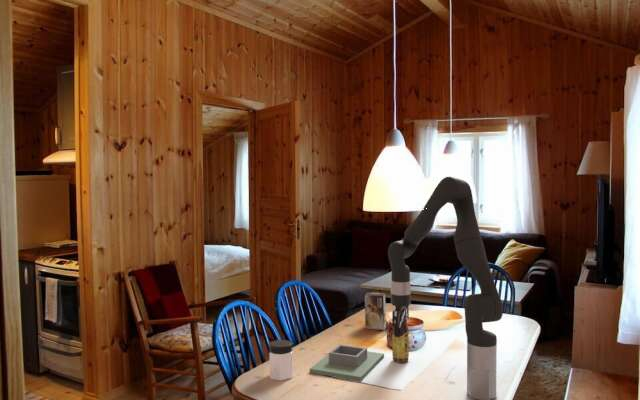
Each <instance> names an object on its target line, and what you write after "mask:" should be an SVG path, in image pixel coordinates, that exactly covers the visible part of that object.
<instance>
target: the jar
mask: <svg viewBox="0 0 640 400" xmlns="http://www.w3.org/2000/svg"><path fill="white" fill-rule="evenodd" d="M268 348H269V379H272V380H275V381H280V382H281V381H285V380H291V379H292V378H293V343H292V341H290V340H287V339H276V340H273V341H271V342H269V347H268Z"/></svg>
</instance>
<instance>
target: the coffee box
mask: <svg viewBox="0 0 640 400" xmlns="http://www.w3.org/2000/svg"><path fill="white" fill-rule="evenodd" d="M386 311H387V309H386V292H368V291H367V292H366V293H365V295H364V320H365V326H364V327H365V329H367V330H381V331H385V329H386V328H387V318H386V317H387V316H386V315H387V312H386Z"/></svg>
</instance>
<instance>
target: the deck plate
mask: <svg viewBox="0 0 640 400" xmlns="http://www.w3.org/2000/svg"><path fill="white" fill-rule="evenodd" d="M384 358H385V353H381V352H375V351H368V348H367V347H360V346H353V345H346V344H338V345H337V346H336V347H334V348H333V349H332V350H330V351H329V352H328V353H327V354H326V356H324V357H323V358H322V359H320V360H319V361H318V362H316V363H315V364H314V365H313V366H311V367H310V368H309V373H310V374H316V375H321V376H328V377H333V378H340V379H345V380H350V381H351V380H352V381H359V382H362V381H363V380H364V379H365V377H367V376H368V375H369V374H370V373H371V372H372V370H373V369H374V368H376V366H377V365H379V363H380V362H381V361H383V359H384Z"/></svg>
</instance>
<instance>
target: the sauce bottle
mask: <svg viewBox="0 0 640 400" xmlns="http://www.w3.org/2000/svg"><path fill="white" fill-rule="evenodd" d="M404 311H405V314H406V310H404ZM396 324H397V322H396ZM409 333H410V331H409V327H408V323H407V324H406V321H405V315H404V318H403V322H402V323H401V336H400V337H395V336H394V327H392V337H391V338H392V339H391V340H392V348H391V349H392V355H391V356H392V361H393V362H394V363H398V364H404V363H408V361H409V356H410V354H409V353H410V351H409V350H410V349H409V345H410V344H409V343H410V342H409V341H410V340H409V337H410V335H409Z"/></svg>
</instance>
